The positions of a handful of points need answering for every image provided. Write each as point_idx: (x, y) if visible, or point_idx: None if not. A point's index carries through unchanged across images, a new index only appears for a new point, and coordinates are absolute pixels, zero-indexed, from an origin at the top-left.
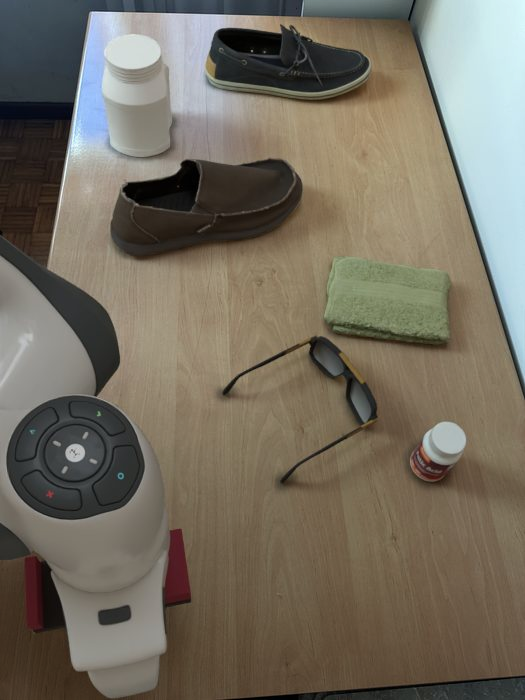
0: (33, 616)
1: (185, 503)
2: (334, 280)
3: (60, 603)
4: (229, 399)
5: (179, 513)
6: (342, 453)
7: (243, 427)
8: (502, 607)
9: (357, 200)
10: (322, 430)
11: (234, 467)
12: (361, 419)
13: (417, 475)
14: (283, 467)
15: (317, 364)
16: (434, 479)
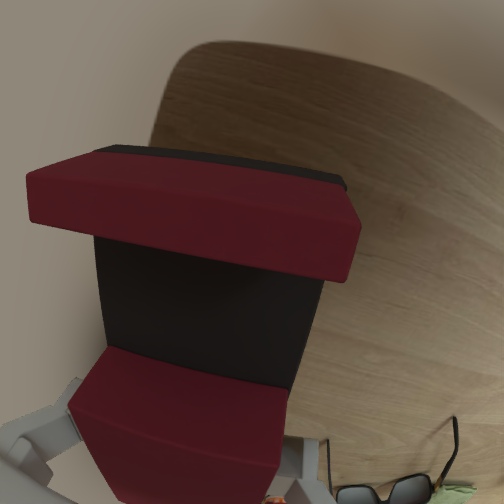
0: (49, 209)
1: (364, 358)
2: (462, 495)
3: (154, 258)
4: (445, 419)
5: (355, 348)
6: (325, 473)
7: (409, 425)
8: None
9: (495, 491)
10: (356, 469)
11: (373, 411)
12: (345, 488)
13: (275, 496)
14: (342, 442)
15: (415, 476)
16: (265, 501)
